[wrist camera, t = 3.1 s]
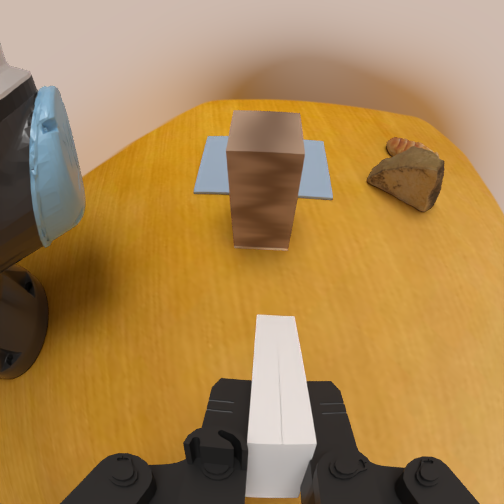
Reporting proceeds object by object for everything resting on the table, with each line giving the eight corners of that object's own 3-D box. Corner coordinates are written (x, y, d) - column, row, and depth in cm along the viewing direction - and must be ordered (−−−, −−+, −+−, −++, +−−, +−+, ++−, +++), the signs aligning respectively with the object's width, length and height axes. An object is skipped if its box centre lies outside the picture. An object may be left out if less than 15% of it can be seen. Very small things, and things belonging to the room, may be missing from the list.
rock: (351, 172, 37) (408, 216, 32) (382, 120, 33) (445, 159, 28) (379, 186, 45) (425, 223, 39) (405, 144, 41) (454, 178, 35)
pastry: (379, 157, 43) (386, 139, 39) (389, 139, 46) (396, 122, 42) (429, 185, 40) (439, 168, 37) (435, 164, 43) (443, 148, 40)
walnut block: (234, 248, 34) (225, 150, 22) (238, 206, 37) (233, 110, 25) (287, 250, 33) (305, 154, 21) (287, 209, 37) (300, 113, 25)
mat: (194, 193, 38) (193, 191, 38) (208, 138, 44) (207, 136, 44) (332, 200, 37) (333, 198, 37) (322, 143, 44) (323, 141, 43)
